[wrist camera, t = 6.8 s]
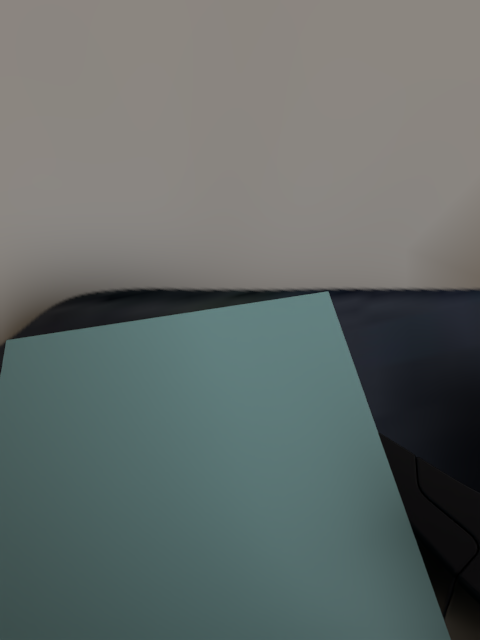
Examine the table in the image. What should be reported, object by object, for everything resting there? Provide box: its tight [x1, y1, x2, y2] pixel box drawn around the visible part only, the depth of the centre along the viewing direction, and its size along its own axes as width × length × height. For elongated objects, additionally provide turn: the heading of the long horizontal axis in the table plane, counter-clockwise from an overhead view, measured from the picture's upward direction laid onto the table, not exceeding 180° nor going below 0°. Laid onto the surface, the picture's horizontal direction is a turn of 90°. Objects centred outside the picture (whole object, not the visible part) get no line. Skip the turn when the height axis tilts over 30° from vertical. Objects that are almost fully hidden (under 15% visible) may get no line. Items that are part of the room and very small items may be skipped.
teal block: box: [0, 292, 451, 640], centre depth 7 cm, size 4×4×9 cm
